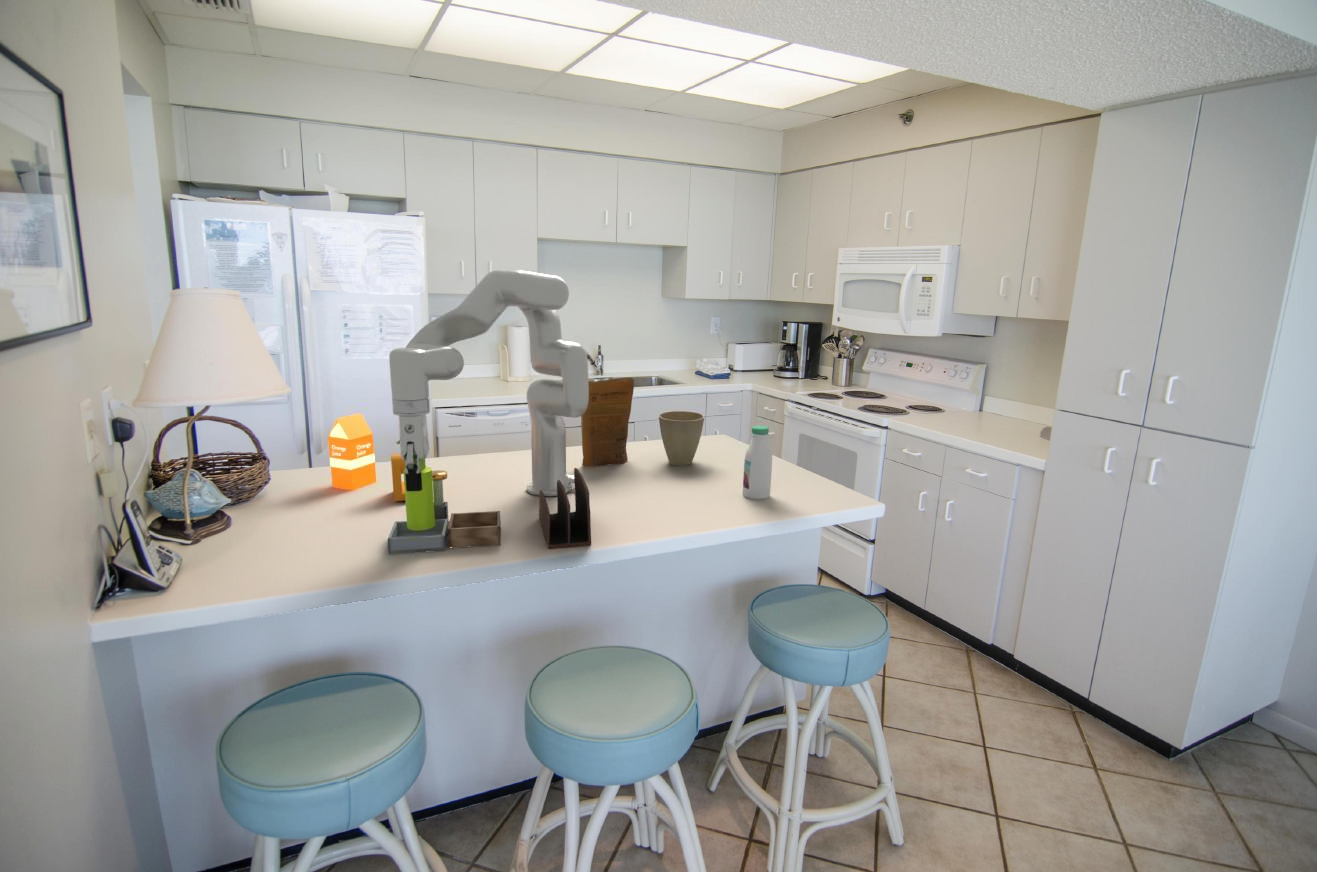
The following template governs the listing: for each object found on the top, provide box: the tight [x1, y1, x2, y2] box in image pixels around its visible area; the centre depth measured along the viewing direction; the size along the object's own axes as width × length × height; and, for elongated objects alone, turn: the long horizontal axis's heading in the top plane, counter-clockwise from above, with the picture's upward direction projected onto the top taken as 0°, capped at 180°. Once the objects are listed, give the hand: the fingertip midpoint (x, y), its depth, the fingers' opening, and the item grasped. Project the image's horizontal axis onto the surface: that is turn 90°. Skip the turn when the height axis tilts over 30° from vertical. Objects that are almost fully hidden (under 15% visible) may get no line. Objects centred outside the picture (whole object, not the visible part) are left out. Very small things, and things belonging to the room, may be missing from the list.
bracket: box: [390, 453, 406, 502], centre depth 181 cm, size 11×7×12 cm, turn 22°
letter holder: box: [538, 467, 592, 550], centre depth 159 cm, size 10×20×14 cm, turn 16°
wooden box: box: [447, 510, 502, 549], centre depth 155 cm, size 11×10×4 cm
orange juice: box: [327, 412, 377, 491], centre depth 189 cm, size 8×9×20 cm
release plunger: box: [432, 470, 448, 507], centre depth 159 cm, size 4×4×13 cm
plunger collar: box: [434, 501, 450, 527], centre depth 160 cm, size 5×5×6 cm
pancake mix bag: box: [580, 377, 635, 468], centre depth 215 cm, size 7×19×28 cm, turn 120°
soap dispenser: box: [395, 439, 435, 531], centre depth 149 cm, size 6×7×20 cm
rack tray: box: [387, 518, 449, 555], centre depth 152 cm, size 12×11×4 cm
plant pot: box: [658, 410, 705, 467], centre depth 220 cm, size 15×15×16 cm
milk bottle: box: [742, 425, 773, 501], centre depth 188 cm, size 8×8×20 cm
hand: (416, 485), depth 149 cm, fingers closed on soap dispenser, 5 cm apart
